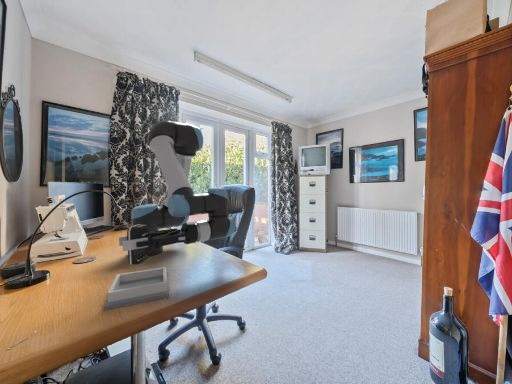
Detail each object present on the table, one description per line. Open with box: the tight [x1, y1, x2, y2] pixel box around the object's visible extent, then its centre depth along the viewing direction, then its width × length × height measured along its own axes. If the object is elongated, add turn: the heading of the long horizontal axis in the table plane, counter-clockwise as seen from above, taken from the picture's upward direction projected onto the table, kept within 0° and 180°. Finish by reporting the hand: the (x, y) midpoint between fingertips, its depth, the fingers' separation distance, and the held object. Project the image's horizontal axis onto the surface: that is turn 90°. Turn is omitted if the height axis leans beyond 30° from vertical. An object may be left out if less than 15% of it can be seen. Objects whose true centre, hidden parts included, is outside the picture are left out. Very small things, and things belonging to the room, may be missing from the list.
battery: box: [126, 224, 150, 266], centre depth 68 cm, size 7×4×11 cm, turn 178°
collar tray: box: [103, 266, 170, 311], centre depth 69 cm, size 18×16×4 cm
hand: (120, 243), depth 65 cm, fingers closed on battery, 7 cm apart
